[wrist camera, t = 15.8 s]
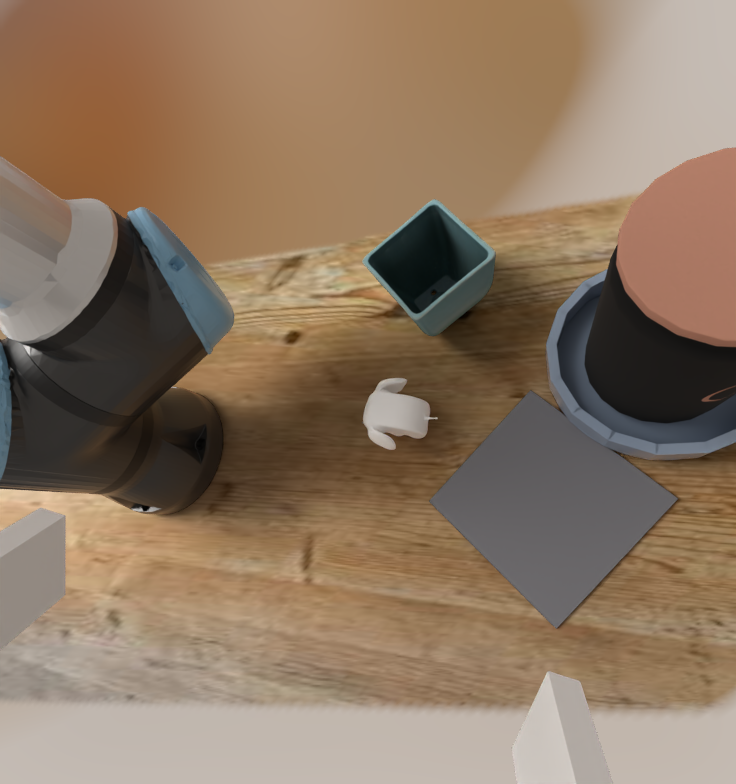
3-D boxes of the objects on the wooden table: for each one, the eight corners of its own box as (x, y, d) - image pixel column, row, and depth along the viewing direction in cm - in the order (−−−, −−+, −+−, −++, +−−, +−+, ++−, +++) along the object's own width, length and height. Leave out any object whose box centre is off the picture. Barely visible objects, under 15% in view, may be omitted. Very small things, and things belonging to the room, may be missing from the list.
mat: (429, 501, 41) (429, 501, 40) (530, 390, 40) (530, 390, 40) (556, 628, 34) (556, 628, 34) (677, 498, 34) (678, 498, 34)
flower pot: (505, 303, 43) (498, 252, 35) (436, 358, 44) (414, 321, 36) (451, 252, 47) (434, 196, 39) (389, 304, 48) (359, 259, 40)
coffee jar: (683, 452, 34) (817, 387, 18) (557, 383, 39) (573, 282, 23) (760, 343, 34) (960, 181, 18) (626, 288, 39) (690, 120, 23)
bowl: (508, 378, 41) (506, 366, 38) (627, 247, 41) (635, 224, 38) (678, 504, 34) (693, 502, 31) (826, 346, 33) (856, 327, 30)
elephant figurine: (375, 387, 46) (354, 369, 41) (450, 393, 43) (438, 374, 38) (363, 450, 44) (340, 439, 39) (440, 461, 41) (426, 451, 36)
